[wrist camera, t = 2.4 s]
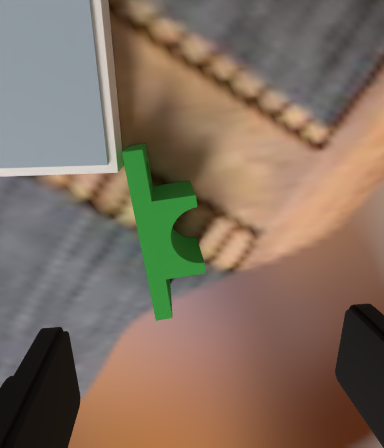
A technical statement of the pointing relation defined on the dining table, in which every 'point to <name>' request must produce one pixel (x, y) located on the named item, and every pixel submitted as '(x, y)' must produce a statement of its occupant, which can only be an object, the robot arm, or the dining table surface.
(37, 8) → the stand
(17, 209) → the dining table surface
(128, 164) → the pipe clamp
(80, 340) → the dining table surface
